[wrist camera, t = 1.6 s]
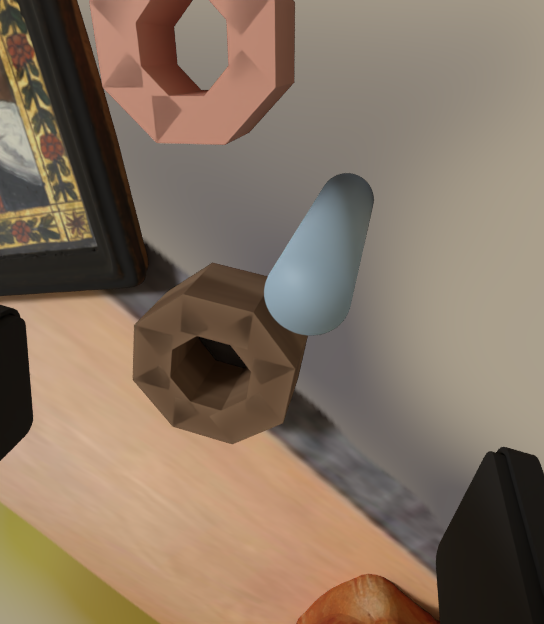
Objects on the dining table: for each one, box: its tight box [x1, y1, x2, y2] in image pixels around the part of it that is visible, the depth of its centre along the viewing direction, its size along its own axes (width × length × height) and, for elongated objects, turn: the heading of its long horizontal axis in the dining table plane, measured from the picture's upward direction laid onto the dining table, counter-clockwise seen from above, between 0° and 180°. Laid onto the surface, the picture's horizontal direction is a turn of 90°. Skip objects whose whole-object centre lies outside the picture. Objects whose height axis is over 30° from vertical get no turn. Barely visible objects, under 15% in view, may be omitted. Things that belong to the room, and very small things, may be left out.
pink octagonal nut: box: [89, 0, 295, 145], centre depth 23 cm, size 8×8×4 cm
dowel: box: [264, 173, 374, 335], centre depth 21 cm, size 3×3×12 cm
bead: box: [133, 263, 308, 444], centre depth 30 cm, size 9×9×4 cm
